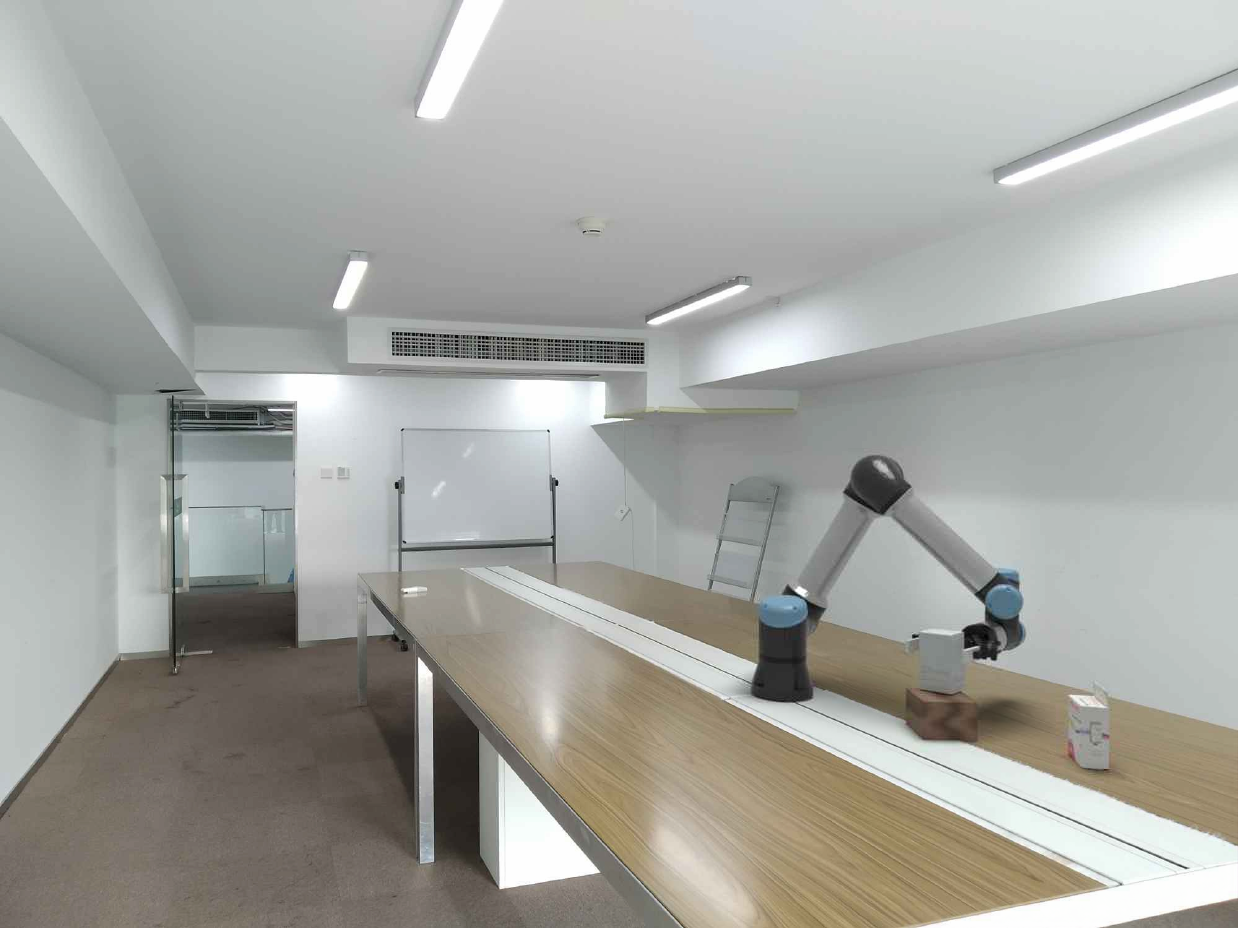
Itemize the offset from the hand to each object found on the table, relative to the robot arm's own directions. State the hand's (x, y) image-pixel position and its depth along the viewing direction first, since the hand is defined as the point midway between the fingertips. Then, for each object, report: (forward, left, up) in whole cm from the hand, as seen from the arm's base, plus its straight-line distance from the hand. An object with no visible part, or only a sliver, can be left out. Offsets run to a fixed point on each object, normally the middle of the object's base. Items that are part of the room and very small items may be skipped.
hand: (934, 651), depth 181 cm
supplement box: (+2, +3, -9) cm, 9 cm away
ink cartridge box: (+27, -11, -17) cm, 34 cm away
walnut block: (+1, -2, -17) cm, 17 cm away
